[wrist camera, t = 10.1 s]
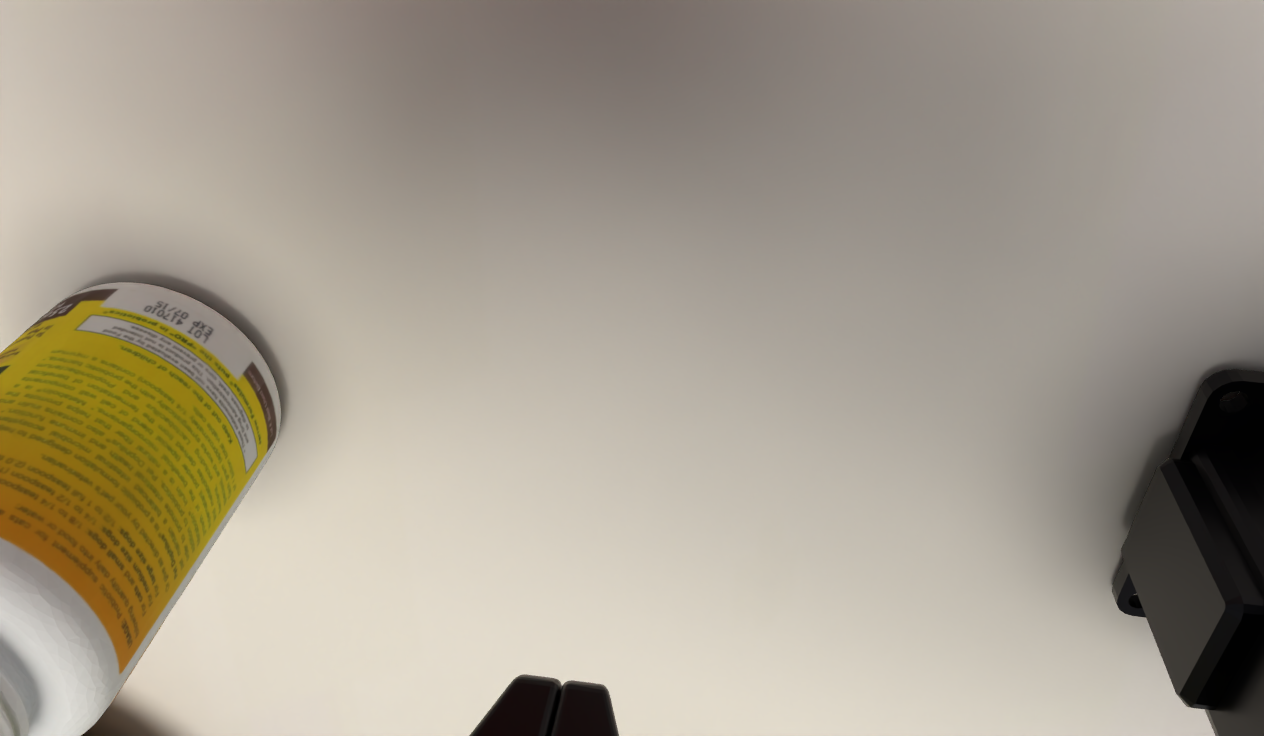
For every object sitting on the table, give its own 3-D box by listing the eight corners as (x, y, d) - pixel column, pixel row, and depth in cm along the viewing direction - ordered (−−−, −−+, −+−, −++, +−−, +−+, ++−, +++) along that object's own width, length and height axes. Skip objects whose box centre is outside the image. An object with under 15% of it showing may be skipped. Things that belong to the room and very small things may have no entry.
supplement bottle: (89, 222, 21) (-357, 578, 13) (328, 359, 23) (66, 764, 14) (23, 395, 24) (-374, 778, 16) (240, 507, 26) (-22, 917, 17)
